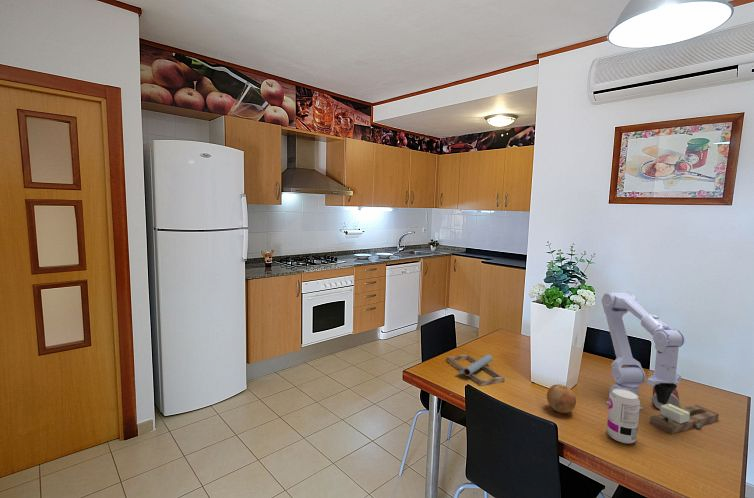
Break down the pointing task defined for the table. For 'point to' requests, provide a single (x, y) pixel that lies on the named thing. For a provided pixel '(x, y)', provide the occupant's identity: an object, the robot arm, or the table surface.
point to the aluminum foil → (476, 365)
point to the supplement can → (623, 415)
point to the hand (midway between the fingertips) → (662, 402)
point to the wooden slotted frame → (696, 420)
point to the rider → (674, 413)
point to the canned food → (672, 400)
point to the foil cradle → (497, 376)
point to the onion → (561, 398)
